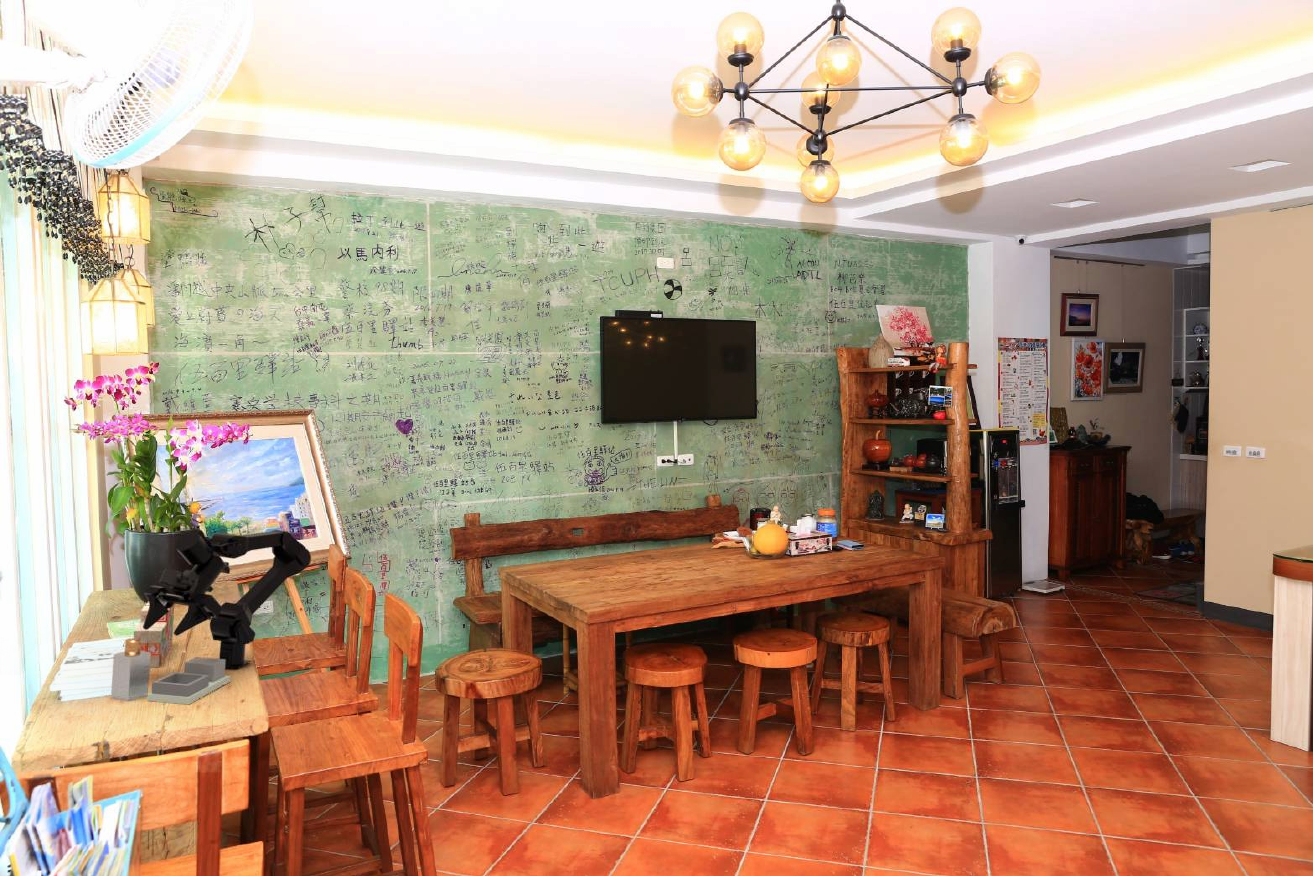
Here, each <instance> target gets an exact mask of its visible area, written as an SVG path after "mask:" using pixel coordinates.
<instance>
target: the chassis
mask: <svg viewBox="0 0 1313 876" xmlns="http://www.w3.org/2000/svg"><path fill="white" fill-rule="evenodd" d="M225 661H226V660H225V659H219V658H213V657H212V658H211V657H201V656H200V657H199V656H196V657H194V658H192V659H189V660H187V661H185V662H184V665H183V666H184V667H183V668H184V669H183V672H177V671H174V672H172V673H170V674H167V675H165V676H163V677H160V678H159V679H156V680H155V681H153V682H151V692H148V695H146V696H147V702H157V703H166V704H169V703H170V704H179V705H190V704H192V703H195V702H196V701H199V700H200V699H202V698H204V697H206V696H207V695H206V694H208V693H209V694H211V693H213V692H214V691H213V690H215V689H216V688H219V687H221V686H222V685H224V684H225V683H228V682H230V683H231V675H225V673H226V668H225ZM228 684H229V683H228ZM224 686H225V685H224ZM222 687H223V686H222ZM222 687H221V688H222ZM219 689H220V688H219ZM212 691H213V692H212ZM215 691H216V690H215ZM210 692H211V693H210ZM209 694H208V695H209ZM205 695H206V696H205ZM203 696H204V697H203ZM199 698H200V699H199Z"/></svg>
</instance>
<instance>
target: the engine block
mask: <svg viewBox="0 0 1313 876" xmlns="http://www.w3.org/2000/svg"><path fill="white" fill-rule="evenodd" d="M124 644H125V645H124V651H122V652H118V653H114V654H113V659H112V661H113V663H112V664H113V665H112V676H111V677H112V680H111V694H110V697H111V698H113V699H117V700H121V701H126V702H129V701H133V700H136V699H139V698H143V697H146V696H148V694H149V687H150V686H149V684H150V672H151V671H150V670H151V669H150V668H151V667H150V657H151V653H150V652H145V651H140V650H141V639H138V638H134V637H132V638H127V639H125V642H124Z"/></svg>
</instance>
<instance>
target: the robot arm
mask: <svg viewBox="0 0 1313 876" xmlns="http://www.w3.org/2000/svg"><path fill="white" fill-rule="evenodd" d="M174 547H175V550H177V552H178V553H179V554H180V555H181V556H182V558H184V560H185V561H186V562H187V563H188V565H190V566H194V567H193V568H192V569H190V570H189V569H185V570H184V571H178V570H175V569H174V570H173V569H172V570H171V569H167V568H164V570H163V572H162V575H161V577H160V579H159V580H158V582H159V583H160V584H165V585H166V586H170V587H169V590H170V591H171V592H173V594H172V593H171V592H170V591H169V590H168V589H167V588H166V587H164V586H159V585H149V586H148V587H147V589H145V591H144V592H143V594H144V596H145V597H146V598H145V599H146V600H147V601H149V604H150V605H149V610H148V613H147V616H146V619H145V622H144V625H143V628H144V629H145V630H147V629H149V628H150V627H151V626H153V625H154V624H155V623H156V622H157V621H158V620H160V619H161V618H162V617H163V616H164V615H165V614H167V613H168V612H169V610H168V609H169V608H171V607H172V606H173V605H174V606H175V605H181V606H187V612H186V613H185V615H184V616H183V618H182V619H181V621H180V622H179V623H178V625H177V626H176V628H175V630H174V632H173V634H174V636H176V637H178V636H179V635H181V634H183V633H185V632H186V631H188V630H190V629H193V628H194V627H196V626H198V625H200V624H202V623H204V622H206V621H209V630H210V633H211V636H212V640H213V641H216V642H217V641H218V642H220V647H219V655H218V656H219V658H218V659H225V660H226V661H225V669H230V668H239V667H241V668H243V667H244V665H245V666H246V664H247V663H248V662H250V663H251V660H245V654H246V645H249V644H250V643H253V642H254V641H255V637H256V632H255V631H254V630H253V629H252V628H251V627H250V626H251V625H252V621H253V615H254V613H255V612H256V611H258V609H259V608H261V606H262V605H263V604H264V603H265V602H266V601H267V600H268V599H270V597H271V596H272V595H273V594H274V593H275V592H276V591H277V590H278V589H279V587H280V586H281V585H283V583H284V582H285V581H286V580H287V579H288V578H291V577H293V576H296V575H299V574H301V572H303V571H305V570H306V569H307V568H308V567H309V566H310V564H311V561H312V555H311V552H310V550H309V549H308V548H306V546H305V545H304V544H302V543H301V542H300V541H298V540H297V539H296V538H295V537H294V536H293V534H292V533H290V532H289V531H286V530H279V529H274V530H271V531H263V532H255V533H249V534H230V533H225V532H224V533H223V532H216V533H213V535H212V536H211V537H210V538H207V536H206V535H205V533H204V532H203V530H202V529H197V528H194V529H193V530H192V531H191V532H188V533H185V534H184V535H182V536H181V537H178V538H177V540H176V542H175V544H174ZM269 548H270V549H271V553H272V554H273V555H274V557H273V560H272V561H273V562H272V566H271V568H269V569H268V570H267V571H266V572H265V573H264V575H262V576H261V578H260V579H259V580H258V581H256V582H255V584H254V585H253V586H252V587H251V588H250V589H248V590H247V591H246V593H245V594H244V595H243V596H242V597H241V598H240V599H239V600H237V602H227V601H225V602H224V603H223V604H222V605H221V604H220V603H219V601H217V600H216V598H215V597H214V596H213V595H211V594H206V593H212V591H213V590H214V588H213V587H212V585H213V584H214V582H215V581H216V580H217V578H218V577H219V576H220V574H221V573H222V574H227V575H229V574H230V573H231V569H230V563H229V562H228V561H224V560H223V559H222V558H226V559H232V560H233V559H238V558H241V557H243V556H245V555H246V554H247V553H249V552H251V551H257V550H263V549H269ZM174 603H175V604H174ZM248 664H249V663H248ZM248 664H247V665H248ZM242 666H243V667H242ZM239 669H240V668H239Z"/></svg>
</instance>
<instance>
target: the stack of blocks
mask: <svg viewBox="0 0 1313 876" xmlns="http://www.w3.org/2000/svg"><path fill="white" fill-rule="evenodd" d="M149 605H150V604H149V600H147V603H145V605H144V606H143V607H142V609H141V611H140V621H139V624H138V625H137V626H136V627H135V629H134V630H133V638H138V639H141V650H140V651H145V652H150V653H151V657H150V668H160V665H161V664H162V662H163V661H164V659H165V658H166V656H167V654H168V652H169V650H171V648H172V646H173V634H174V632H173V630H174V628H173V627H174V620H175V619H174V618H175V605H176V604H175V603H174V605H173V606H172V607H171V608H169V609H168V610H169V612H168V613H167V614H165V615H164V616H163V617H162V618H161V619H160V620H158V621H157V622H156V623H155V624H154V625H153V626H151V627H150V628H149V629H147V630H145V629H144V628H143V625H144V622H145V619H146V616H147V613H148V610H149ZM170 647H171V648H170Z"/></svg>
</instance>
